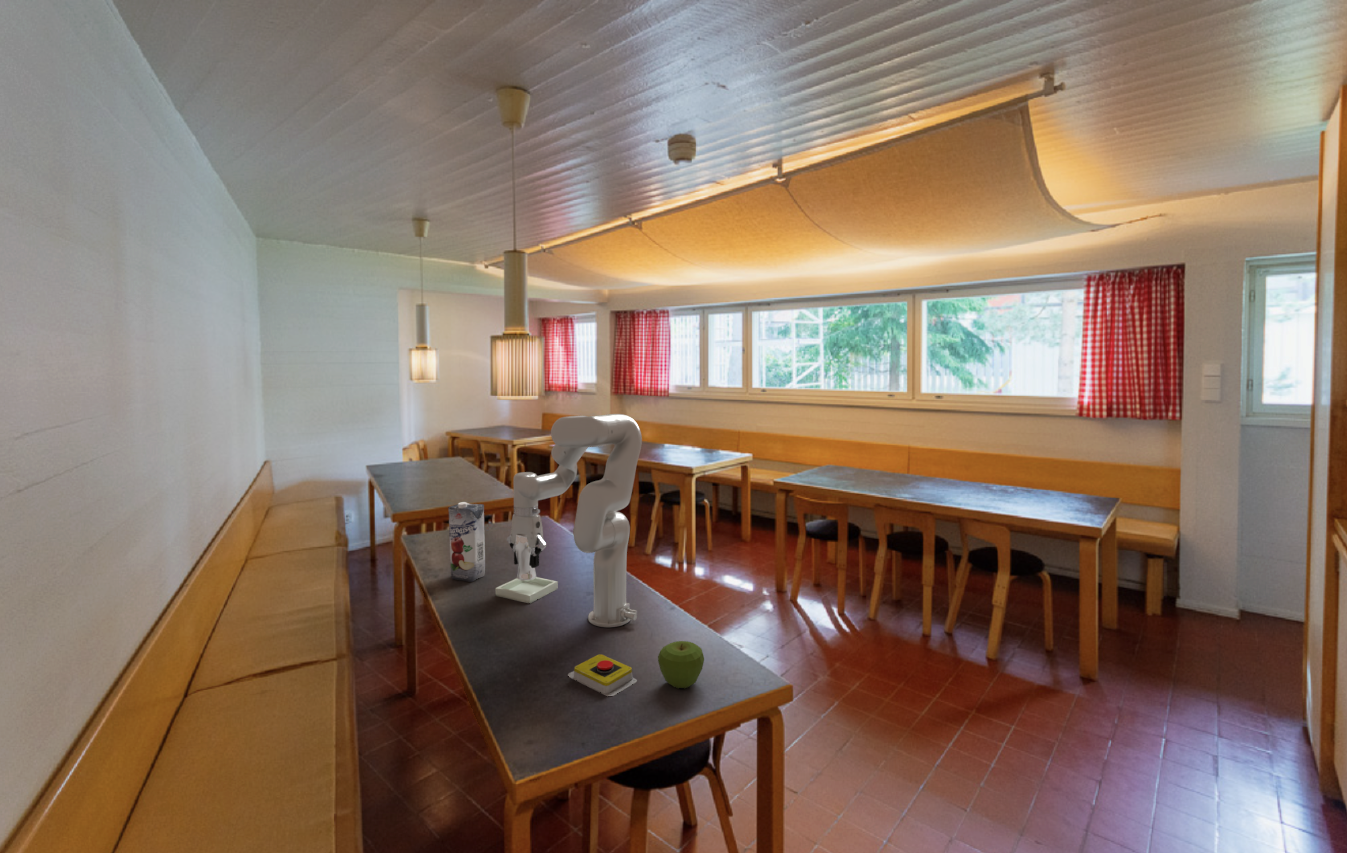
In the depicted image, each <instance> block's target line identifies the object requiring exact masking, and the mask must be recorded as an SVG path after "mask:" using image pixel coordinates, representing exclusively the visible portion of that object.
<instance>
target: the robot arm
mask: <svg viewBox="0 0 1347 853" xmlns="http://www.w3.org/2000/svg"><path fill="white" fill-rule="evenodd" d="M550 436H551V440H552V442H553V443H554V446H553V447H552V448H551V457H552V459H553V461H554V462H556V464H558V467H557V468H556V470H554V472H550V473H545V474H540V475H537V473H534V472H532V471H526V472H525V471H523V472H518V473H515V474H514V476H513V514H512V517H511V518H512V519H511V524H510V534H509V535H508V536H507V538H506V542H508V544H509V547H510V548H511V552H512V553H513V564H514V565H518V562H517V557H516V551H515V539H516V534H518V535H523V536H527V541H528V545H529V547H531V552H532V555H533V556H531V568H535V569H536V568H537V567H539V566H540V555H541V553H542V552H543V551H544V550H545V549H546V547H547V545H548V544H547V543H546V541H545V540H544V532H543V523H542V517H541V514H540V513H541V509H539V501H542V500H546V499H549V498H554V497H558V496H560V495H562V494H564V493H565V492H567V491H568V489H569V488H570V487H571V485H572V484H573V483H574V481H575V480H576V478H577V474H578V462H579V461H580V459H581V457H583V455H584V454H585V452H586V451H587V449H588V448H597V447H598V448H600V447H605V446H610V445H614V447H613V449H612V450H611V452H610V453H609V455H608V457H607V460H606V463H605V470H604V473H603V477H602V478H601V479H599V480H595V481H591V482H590V483H588V484H586V485H585V486H584V487H583V488H582V490H581V491H580V493H579V497H578V501H577V507H576V514H575V520H574V526H573V540H574V544H575V545H576V548H577V549H578V550H579V551H580V552H582V553H585V554H592V553H594V556H593V569H592V570H593V571H592V572H593V574H592V575H593V610H592V611H590V612H589V613H588V616H587V618H588V619H587V620H588V622H589V623H590V624H591V625H593V626H597V627H601V628H617V627H621V626H623V625H624V626H625V625H627V624H629V622H630V621H631V620H632V621H636V620H637V618H638V617H637V616H638V610H636V609H631V608H630V606H631V604H630V602H627V554H628V553H627V552H628V546H629V544H628V543H629V538H630V530H631V526H630V522H629V520H628V518H627V517H626V515H625V514H624V513H622V512H620V511H621V510H623V509H625V508H626V507H627V506H629V504H630V502H631V498H632V494H633V493H632V492H633V488H634V483H635V477H636V470H637V464H638V461H639V457H640V454H641V449H642V446H643V445H642V443H643V438H642V437H643V435H642V432H641V429H640V427H639V424H638V423H637V422H636V420H635V419H634V418H632V417H631V416H630V415H626V414H623V413H611V414H610V413H609V414H603V415H602V414H601V415H600V414H599V415H589V416H587V415H571V416H569V415H568V416H562V417H559V418H558V419H556V421H554V423H553V424H552V427H551V429H550ZM535 547H536V551H535Z"/></svg>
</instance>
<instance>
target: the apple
mask: <svg viewBox="0 0 1347 853" xmlns="http://www.w3.org/2000/svg"><path fill="white" fill-rule="evenodd" d="M657 662H658V665H659V670H660V672H661V674H662V676H663V679H664V681H666V683H668V684H669V685H670V686H672V687H673V688H675V687H676V688H675V689H679V688H684V689H687V688H689V687H690V686H692V685H695V683H697V680H698V678H699V676H700V675H701V672H702V670H703V666H704V663H705V657H704V653H703V649H702V647H700V646H699V645H697V644H696V643H694V642H691V641H686V640H678V641H673V642H669V643H668V644H666V645H664V646H662V648H661V650H660V651H659V653H658V656H657Z"/></svg>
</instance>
